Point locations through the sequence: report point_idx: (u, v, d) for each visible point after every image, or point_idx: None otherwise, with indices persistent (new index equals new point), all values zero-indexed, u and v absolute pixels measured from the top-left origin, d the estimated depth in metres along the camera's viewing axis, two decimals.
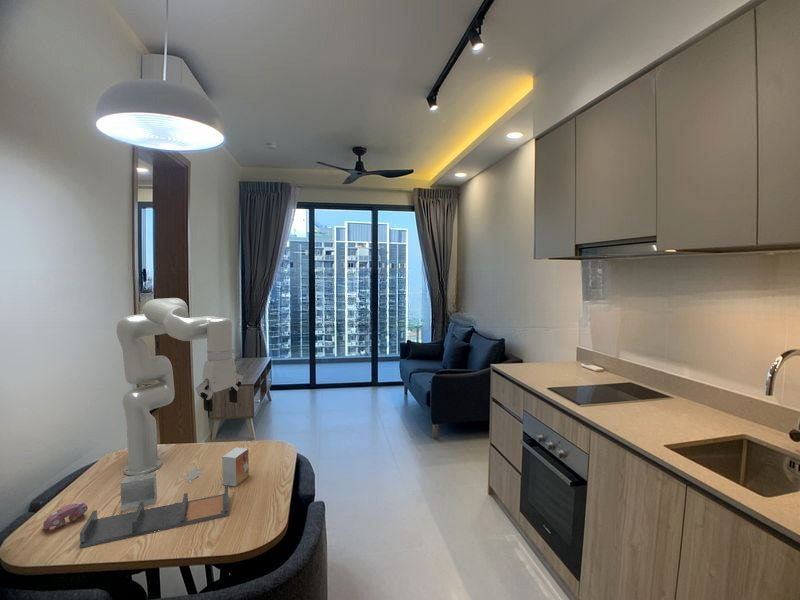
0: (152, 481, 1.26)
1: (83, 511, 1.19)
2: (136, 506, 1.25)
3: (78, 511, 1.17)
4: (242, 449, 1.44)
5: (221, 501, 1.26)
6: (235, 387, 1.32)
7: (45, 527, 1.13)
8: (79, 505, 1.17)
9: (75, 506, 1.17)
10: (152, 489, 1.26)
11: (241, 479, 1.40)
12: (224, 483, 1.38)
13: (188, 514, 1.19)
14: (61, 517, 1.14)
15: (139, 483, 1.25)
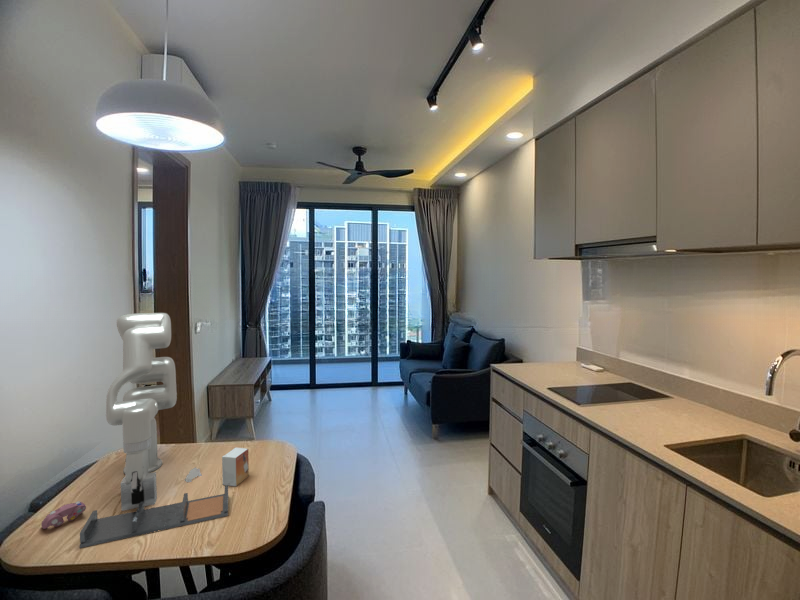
0: (152, 481, 1.26)
1: (81, 510, 1.19)
2: (136, 506, 1.25)
3: (76, 510, 1.18)
4: (242, 449, 1.44)
5: (221, 501, 1.26)
6: None
7: (43, 526, 1.13)
8: (77, 504, 1.18)
9: (73, 505, 1.17)
10: (152, 489, 1.26)
11: (241, 479, 1.40)
12: (224, 483, 1.38)
13: (188, 514, 1.19)
14: (59, 516, 1.14)
15: None
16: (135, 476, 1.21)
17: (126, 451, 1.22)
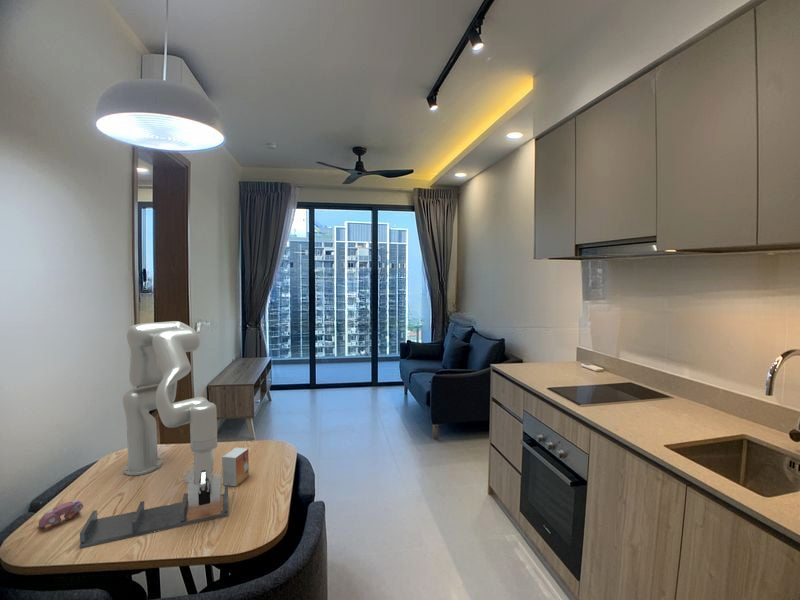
0: (218, 482, 1.23)
1: (78, 509, 1.20)
2: (203, 508, 1.21)
3: (74, 509, 1.18)
4: (242, 449, 1.44)
5: (221, 501, 1.26)
6: None
7: (41, 525, 1.14)
8: (75, 503, 1.18)
9: (71, 504, 1.18)
10: (218, 491, 1.23)
11: (241, 479, 1.40)
12: (224, 483, 1.38)
13: (188, 514, 1.19)
14: (57, 515, 1.15)
15: (206, 485, 1.21)
16: (204, 474, 1.18)
17: (194, 450, 1.19)
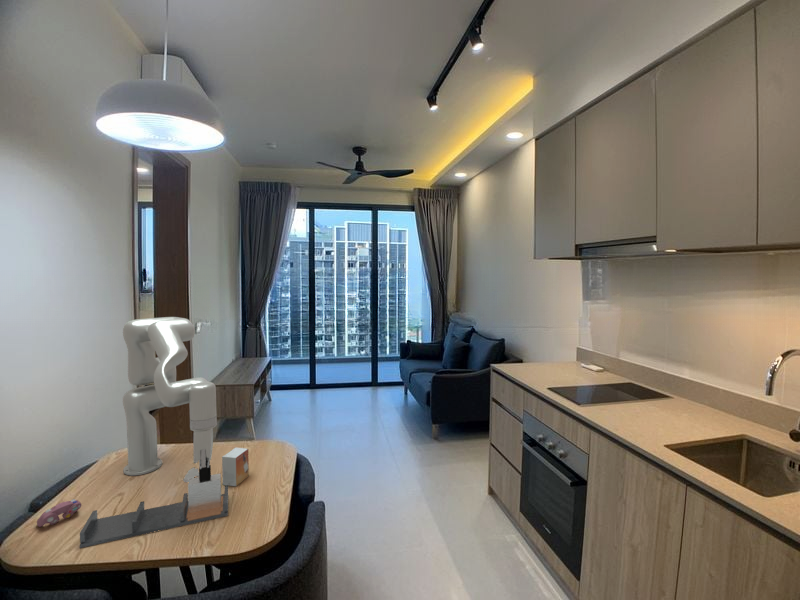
0: (218, 483, 1.23)
1: (77, 508, 1.20)
2: (203, 508, 1.21)
3: (72, 508, 1.19)
4: (242, 449, 1.44)
5: (221, 501, 1.26)
6: None
7: (39, 524, 1.14)
8: (73, 502, 1.19)
9: (69, 503, 1.18)
10: (218, 491, 1.23)
11: (241, 479, 1.40)
12: (224, 483, 1.38)
13: (188, 514, 1.19)
14: (55, 514, 1.15)
15: (206, 485, 1.21)
16: (203, 455, 1.18)
17: (194, 428, 1.18)
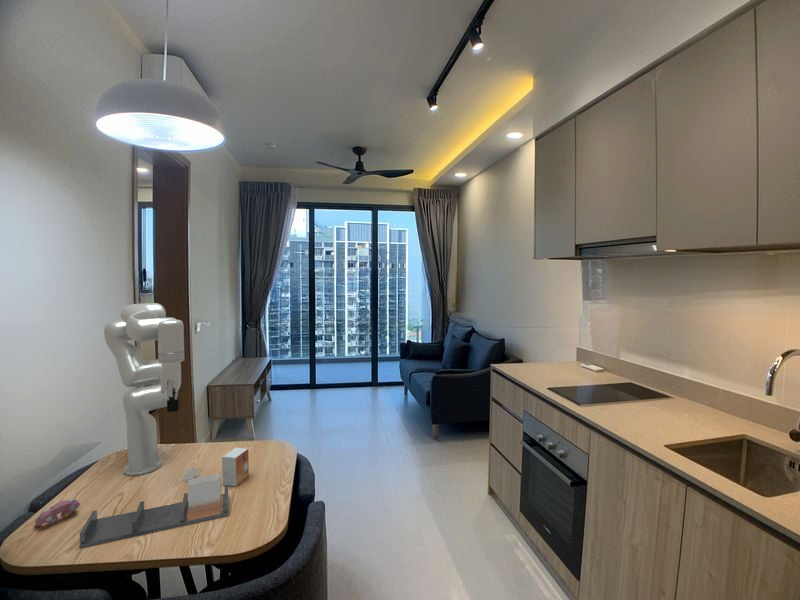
0: (218, 482, 1.23)
1: (75, 507, 1.20)
2: (203, 508, 1.21)
3: (70, 507, 1.19)
4: (242, 449, 1.44)
5: (221, 501, 1.26)
6: (177, 392, 1.32)
7: (37, 524, 1.14)
8: (71, 502, 1.19)
9: (67, 503, 1.18)
10: (218, 491, 1.23)
11: (241, 479, 1.40)
12: (224, 483, 1.38)
13: (188, 514, 1.19)
14: (54, 514, 1.15)
15: (206, 485, 1.21)
16: (170, 385, 1.26)
17: (161, 361, 1.26)
